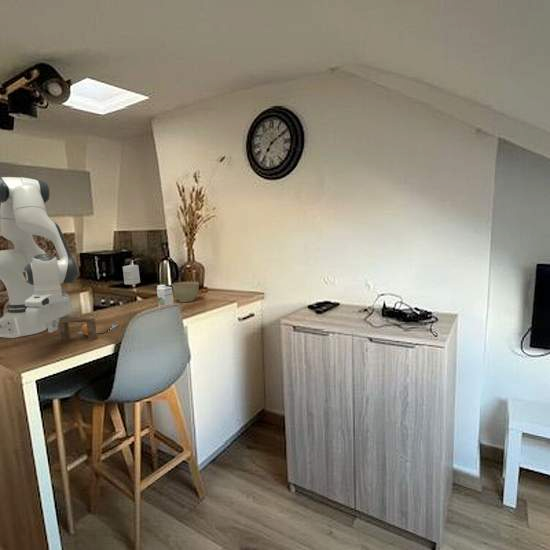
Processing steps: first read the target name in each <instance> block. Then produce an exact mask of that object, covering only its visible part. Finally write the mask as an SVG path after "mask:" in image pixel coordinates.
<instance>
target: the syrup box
mask: <svg viewBox="0 0 550 550" xmlns="http://www.w3.org/2000/svg"><path fill="white" fill-rule="evenodd" d="M156 293H157V302H158V308H159V307H160V306H165V305H169V304H173V305H174V298H173V296H174V295H173V287H172V286H167V285H166V286H163V287H159V288H157V287H156Z"/></svg>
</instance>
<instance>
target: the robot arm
mask: <svg viewBox="0 0 550 550" xmlns="http://www.w3.org/2000/svg"><path fill="white" fill-rule="evenodd" d="M50 196H51V191H50V187H49V185H48V183H47V182H46V181H44V180H42V179H38V178H37V179H33V178H28V177H22V176H21V177H20V176H19V177H16V176H14V177H13V176H1V175H0V234H1V236H2V237H3V238H4V239H6V240H8V241H10V242H12V244H13V247H14V248H13V249H2V250H0V280H1V281H2V283H3V285H4V286H5V289H6V292H7V297H8V301H9V304H8V305H5V306H4V307H5V308H4V309H5V310H6V309H7V310H6V313H5V314H4V315H3V316H1V317H0V338H7V339H15V338H16V339H17V338H19V337H20V338H21V337H26V336H30V335H35V334H39V333H42V332H44V331H46V330H47V331H48V333H54V332H56V331H58V326H59V319H62V318H65V317H67V316H68V315H71V314H72V312H73V306H72V302H71V298H70V296H69V294H68V292H65V291H64V292H63V291H62V289H63V288H62V286H61V284H63V285H64V284H65V285H66V284H67V285H68V284H73V283H74V282H75V281H76V280H77V279H78V278H79V268H78V265H77V263H76V262H75V259H74V257H73V256H72V253H71V251H70V249H69V248H70V247H69V246H68V244H67V241H66V239H65V236H64V234H63V232H62V229H61V228H60V226H59V224H58V223H56V222H53V221H52V219H51V218H50V216H49V215H48V214H47V209H46V206H45V204H46V203H47V202H48V201H49V199H50ZM34 236H38V237H42V238H45V239H47V240H49V241H51V243H53V245H54V248H55V250H56V253H57V255H58V258H59V260H58V259H57V257H56V255H53V254H50V253H46V252H45V250H44V249H42V248H40V246H38V244H37V243H36V241H35V239H34ZM24 273H25V274H24ZM24 275H25V276H24Z"/></svg>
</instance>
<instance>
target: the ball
mask: <svg viewBox="0 0 550 550" xmlns="http://www.w3.org/2000/svg"><path fill="white" fill-rule="evenodd" d="M81 331H82V333H83V334H82V335H84V336H87V337H88V331H87V323H86V322H85V323H84V324H83V325H82V326H81Z"/></svg>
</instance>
